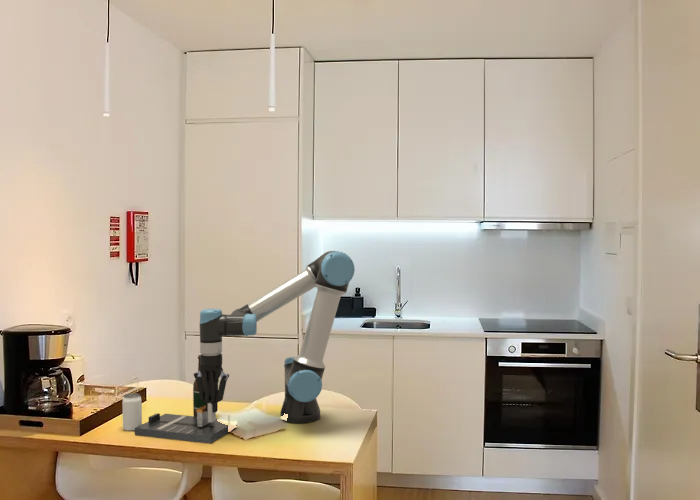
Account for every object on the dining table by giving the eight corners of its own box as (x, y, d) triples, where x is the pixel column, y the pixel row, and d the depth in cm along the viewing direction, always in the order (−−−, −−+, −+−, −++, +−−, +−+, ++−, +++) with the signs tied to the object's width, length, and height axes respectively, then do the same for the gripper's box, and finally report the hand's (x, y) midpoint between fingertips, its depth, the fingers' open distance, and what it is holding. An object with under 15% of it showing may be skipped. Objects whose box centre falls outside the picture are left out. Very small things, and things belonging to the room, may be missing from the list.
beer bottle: (216, 415, 239) (215, 353, 239) (210, 421, 231) (209, 357, 231) (197, 415, 240) (196, 353, 239) (189, 421, 232) (189, 357, 232)
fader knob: (210, 422, 220) (210, 406, 220) (202, 427, 215) (202, 410, 215) (204, 422, 221) (204, 405, 221) (196, 426, 216) (196, 409, 216)
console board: (237, 427, 224) (236, 415, 224) (210, 443, 207) (210, 430, 207) (165, 420, 234) (165, 408, 234) (134, 435, 217) (134, 422, 216)
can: (135, 431, 220) (135, 398, 220) (119, 430, 222) (118, 397, 221) (145, 426, 227) (144, 393, 226) (129, 425, 228) (128, 392, 228)
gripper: (233, 352, 218) (233, 419, 218) (200, 350, 222) (201, 416, 222) (222, 356, 211) (222, 426, 211) (188, 354, 215) (189, 422, 215)
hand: (211, 421), depth 217 cm, fingers closed
